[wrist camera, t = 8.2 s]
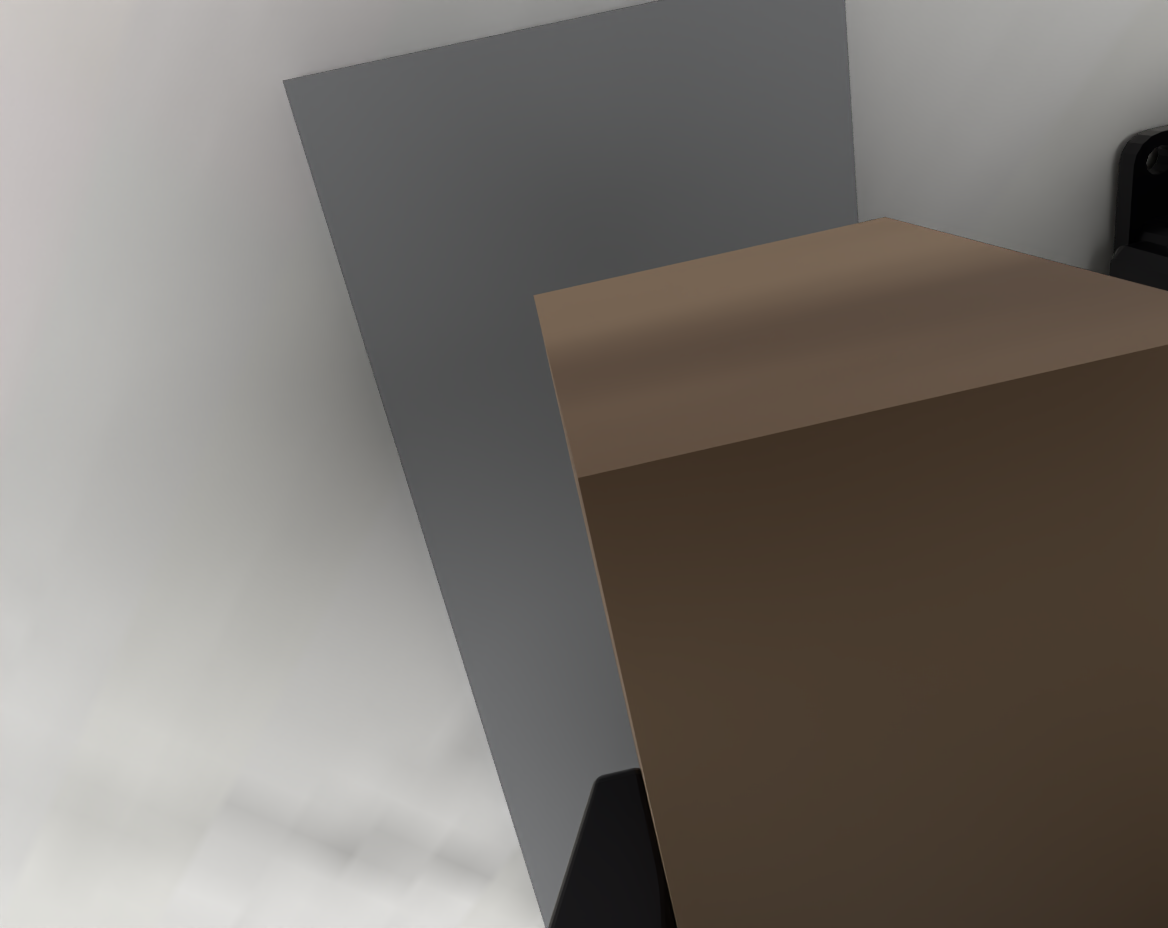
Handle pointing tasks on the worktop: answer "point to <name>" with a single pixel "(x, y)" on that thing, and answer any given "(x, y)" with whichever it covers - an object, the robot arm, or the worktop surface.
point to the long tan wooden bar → (883, 576)
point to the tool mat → (543, 264)
